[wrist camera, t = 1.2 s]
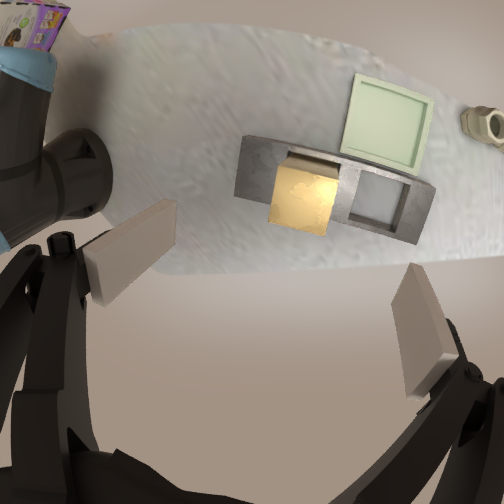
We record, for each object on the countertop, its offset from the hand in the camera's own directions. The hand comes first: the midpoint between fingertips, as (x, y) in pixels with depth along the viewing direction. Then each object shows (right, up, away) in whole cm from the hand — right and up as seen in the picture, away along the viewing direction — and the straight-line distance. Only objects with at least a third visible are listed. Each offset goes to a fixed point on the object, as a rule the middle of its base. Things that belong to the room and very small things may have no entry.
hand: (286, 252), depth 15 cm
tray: (+13, +14, +11) cm, 22 cm away
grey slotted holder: (+8, +8, +16) cm, 20 cm away
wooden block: (+5, +8, +17) cm, 19 cm away
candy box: (-39, +40, +14) cm, 58 cm away
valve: (+28, +14, +8) cm, 32 cm away
